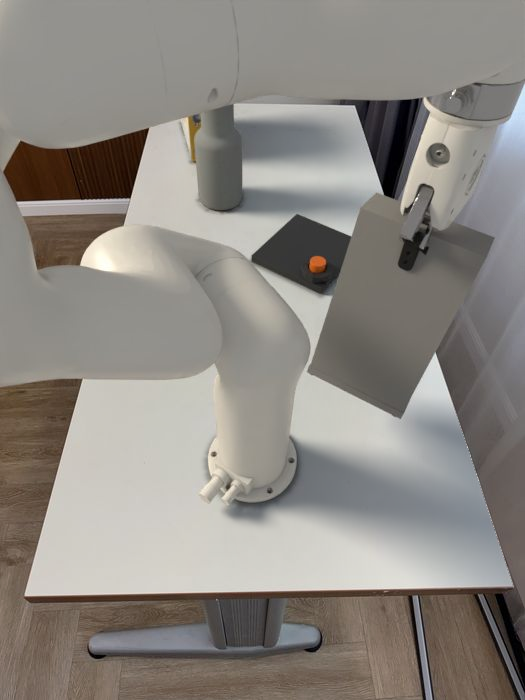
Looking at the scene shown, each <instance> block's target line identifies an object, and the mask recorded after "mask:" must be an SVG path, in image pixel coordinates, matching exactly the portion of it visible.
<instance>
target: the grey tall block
mask: <svg viewBox="0 0 525 700" xmlns="http://www.w3.org/2000/svg"><path fill="white" fill-rule="evenodd" d="M401 202H402V201H400V200H398V199H396V198H392V197H389V196H387V195H384V194H382V193H379V192H375V193H374V194H373V195H372V196H371V197H370V198H369V199H368V200H367V201H366V202H365V203H364V204H363V205H362V206H361V207H360V208H359V211H358V215H357V218H356V221H355V224H354V227H353V231H352V234H351V235H350V236H351V240H350V243H349V246H348V249H347V252H346V255H345V258H344V262H343V265H342V268H341V271H340V274H339V275H338V276H337V277H338V278H337V281H336V284H335V287H334V290H333V293H332V297H331V299H330V302H329V306H328V308H327V312H326V315H325V318H324V320H323V321H324V322H323V324H322V328H321V331H320V334H319V336H318V341H317V343H316V346H315V349H314V353H313V355H312V359H311V362H310V364H309V365H308V368H307V370H306V373H308V374H309V375H310V376H314V377H316V378H317V379H320V380H321V381H323V382H326V383H327V384H330V385H332V386H333V387H335V388H337V389H340V390H341V391H344V392H345V393H347V394H349V395H352V396H354V397H356V398H358V399H360V400H361V401H363V402H365V403H367V404H370V405H372V406H373V407H376V408H378V409H379V410H382V411H383V412H385V413H387V414H388V415H389V414H390V415H391V416H392V417H393V418H397V419H399V420H401V419H402V418H403V416H404V414H405V412H406V410H407V408H408V406H409V404H410V401H411V399H412V396H413V395H414V393H415V391H416V389H417V387H418V385H419V383H420V382H421V380H422V378H423V376H424V374H425V372H426V370H427V369H428V367H429V365H430V363H431V361H432V359H433V358H434V355H435V354H436V352H437V350H438V348H439V346H440V345H441V342H442V341H443V339H444V337H445V335H446V334H447V331H449V328H450V326H451V324H452V323H453V321H454V319H455V317H456V315H457V314H458V311H459V309H460V308H461V306H462V304H463V302H464V300H465V298H466V296H467V295H468V293H469V291H470V289H471V287H472V285H473V283H474V282H475V280H476V278H477V276H478V275H479V273H480V270H481V269H482V267H483V265H484V263H485V261H486V259H487V257H488V256H489V253H490V250H491V248H492V245H493V243H494V241H495V239H496V237H495V236H492V235H490V234H487V233H485V232H481V231H479V230H476V229H474V228H471V227H469V226H465V225H463V224H460V223H458V222H455V221H453V222H452V223H451V225H450V226H449V227H448V228H446V229H444V230H441V231H440V230H438V229H437V228H434V230H433V232H432V235H431V237H430V240H429V242H428V244H427V246H426V247H429V249H428V251H427V254H426V255H425V254H423V253H422V252H421V251H420V250H419V253H418V255H417V258H416V260H415V263H414V266H413V268H412V269H411V270H410V271H406V270H403V269H401V268H400V267H399V266H398V261H399V257H400V254H401V251H402V248H403V245H404V242H402V241H400V240H399V237H400V232H401V230H402V228H403V226H404V223H405V221H406V218H407V216H408V214H407V215H406V216H402V214H401V211H400V207H401ZM425 215H428V216H430V213H429V212H426V214H425ZM426 228H427V225H425V224H422V223H421V225H420V227H419V231H420V232H422V233H423V236H424V233H425V231H426Z"/></svg>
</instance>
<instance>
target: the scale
mask: <svg viewBox="0 0 525 700" xmlns="http://www.w3.org/2000/svg"><path fill="white" fill-rule="evenodd" d="M351 236H352V235H348V234H347V233H345V232H342V231H339V230H337V229H335V228H332V227H330V226H327V225H325V224H323V223H320V222H318V221H315V220H313V219H311V218H308V217H306V216H304V215H301V214H298V213H296V214H295V215H294V216H293V217H292V218H290V219H289V220H288V221H287V222H286V223H285V224H284V225H283V226H282V227H280V229H279V230H277V231H276V232H275V233H274V234H273V235H272V236H271V237H270V238H269V239H268V240H267V241H266V242H264V244H262V245H261V246H260V247H259V248H258V249H257V250H256V251H255V252H254V253H253V254H251V263H254V264H256V265H257V266H260V267H262V268H264V269H266V270H269V271H271V272H273V273H274V274H277V275H279V276H281V277H284V278H285V279H287V280H290V281H292V282H295V284H296V283H297V284H298V285H300V286H303V287H304V288H307V289H309V290H310V291H314V292H315V293H317V294H318V295H322V294H323V293H324V292H326V290H327V289H328V287H329V286H330V285H332V283H333V282H334V281H335V279H336V278H337V277H339V274H340V271H341V268H342V265H343V262H344V258H345V255H346V252H347V249H348V246H349V243H350V240H351ZM314 256H321V257H323V258H324V259H325V260H326V267H325V271H324V272H322V273H314V272H312V271H310V269H309V265H310V259H311V258H312V257H314Z"/></svg>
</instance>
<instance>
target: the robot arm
mask: <svg viewBox="0 0 525 700" xmlns="http://www.w3.org/2000/svg"><path fill="white" fill-rule="evenodd" d="M524 86H525V0H0V388H5V387H13V386H19V385H24V384H30V383H37V382H45V381H54V380H55V381H56V380H70V379H71V380H75V379H77V380H101V381H102V380H107V381H108V380H110V381H111V380H112V381H114V380H116V381H117V380H120V381H129V380H130V381H168V380H172V381H173V380H181V379H182V380H183V379H187V378H191V377H195V376H198V375H200V374H202V373H204V372H205V371H207V370H209V368H211V367H212V366H213V365H214V367H215V368H216V371H217V373H218V374H217V375H216V377H215V379H214V382H213V387H212V399H213V408H214V418H215V419H214V420H215V431H216V436H215V437H214V439H213V441H212V442H211V444H210V446H209V450H208V455H207V463H208V464H207V465H208V466H207V467H208V470H209V475H210V476H211V479H210V480H209V482H208V483H206V484H205V486H204V487H203V488H202V489H201V490H200V491H199V493H198V497H199V498H200V499H201V501H203V502H204V503H206V504H209V505H210V504H211V503H212V501H214V499H215V497H216V496H217V495H218V494H219V491H221V492H222V493H223V496H221V498H220V501H221V502H222V503H223V504H224V505H226V506H228V507H229V506H231V504H232V503H233V502H234V500H235V501H236V500H237V501H239V502H243V503H260V502H266V501H269V500H271V499H273V498H276V497H277V496H279V495H280V494H282V493H283V492H284V491H285V490H286V489H287V488H288V487H289V485H290V484H291V483H292V481H293V478H294V476H295V475H296V469H297V463H298V457H297V451H296V448H295V445H294V443H293V441H292V438H291V437H290V434H291V427H292V420H293V411H294V402H295V395H296V390H297V386H298V383H299V380H300V378H301V377H302V374H303V372H304V370H305V368H306V366H307V364H308V361H309V359H310V355H311V347H312V346H311V340H310V337H309V334H308V332H307V330H306V328H305V326H304V323H303V322H302V321H301V319H300V318H299V317H298V315H297V314H296V313H295V311H294V309H292V307H291V306H290V305H289V304H288V302H287V301H286V300H285V299H284V298H283V297H282V295H281V294H280V293H279V292H278V291H277V289H276V288H274V286H272V285H271V283H270V282H269V281H268V280H267V279H266V278H265V277H264V275H262V273H261V272H260V271H259V270H258V268H257V267H256V266H255V265H254V264H253V262H252V261H250V259H248V257H247V256H246V255H244V254H243V253H242V252H241V251H239V250H237V249H235V248H233V247H231V246H229V245H226V244H224V243H220V242H217V241H213V240H209V239H207V238H206V239H205V238H202V237H197V236H196V235H195V236H194V235H191V234H187V233H184V232H179V231H176V230H172V229H168V228H165V227H159V226H156V225H150V224H128V225H121V226H118V227H114V228H112V229H110V230H107V231H105V232H104V233H102V234H101V235H99V236H98V237H96V238H95V239H94V240H93V241H92V242H91V243H90V244H89V246H87V248H86V249H85V251H84V252H83V255H82V257H81V260H80V263H79V265H77V264H60V265H53V266H47V267H44V268H40V269H38V268H37V267H38V266H37V263H36V258H35V253H34V248H33V247H34V246H33V242H32V238H31V235H30V231H29V228H28V225H27V223H26V221H25V219H24V215H23V214H22V211H21V210H20V207H19V204H18V202H17V199H16V197H15V194H14V192H13V190H12V188H11V185H10V184H9V181H8V179H7V177H6V175H5V173H4V171H5V169H6V167H7V165H8V164H9V162H10V160H11V158H12V156H13V154H14V153H15V151H16V149H17V147H18V146H19V144H20V142H24V143H25V144H28V145H31V146H34V147H38V148H42V149H46V150H47V149H49V150H51V149H52V150H59V149H60V150H63V149H73V148H74V149H75V148H81V147H85V146H88V145H92V144H96V143H100V142H103V141H107V140H112V139H114V138H118V137H121V136H125V135H128V134H132V133H136V132H139V131H142V130H146V129H149V128H153V127H157V126H160V125H163V124H164V125H165V124H167V123H171V122H174V121H178V120H181V119H182V118H185V117H189V116H192V115H196V114H200V113H203V112H207V111H210V110H214V109H217V108H221V107H225V106H228V105H232V104H234V105H235V104H239V103H242V102H246V101H249V100H253V99H257V98H262V97H268V96H269V97H270V96H281V97H287V98H295V99H296V98H298V99H307V100H351V101H352V100H353V101H403V100H413V99H414V100H415V99H421V98H422V99H423V105H424V107H425V109H427V110H428V111H429V114H428V117H427V120H426V123H425V126H424V129H423V131H422V134H421V135H420V140H419V143H418V146H417V149H416V152H415V155H414V158H413V160H412V163H411V167H410V170H409V173H408V177H407V180H406V183H405V186H404V190H403V194H402V197H401V198H402V199H401V201H400V202H401V207H400V211H401V214H402V216H406V215H407V214H408V216H407V218H406V221H405V223H404V226H403V228H402V230H401V232H400V237H399V240H400V241H402V242H404V245H403V248H402V251H401V254H400V257H399V261H398V266H399V267H400V268H401V269H403V270H406V271H410V270H411V269H412V268H413V266H414V263H415V260H416V258H417V255H418V253H419V250H420V251H421V252H422V253H423V254H425V255H426V254H427V251H428V249H429V247H426V246H427V244H428V242H429V240H430V237H431V235H432V232H433V230H434V228H437V229H438V230H440V231H441V230H444V229H446V228H448V227H449V226H450V225H451V223H452V222H455V220H456V219H457V217H458V216H459V215H460V213H461V211H463V209H464V207H465V206H466V204H467V203H469V201H470V199H471V198H472V196H473V194H474V193H475V191H476V189H477V186H478V183H479V180H480V178H481V176H482V172H483V170H484V167H485V164H486V161H487V158H488V157H489V153H490V150H491V148H492V145H493V142H494V139H495V136H496V134H497V130H498V128H499V126H500V125H502V124H503V125H504V124H506V123H507V122H508V121H510V119H511V118H512V115H513V113H514V110H515V108H516V106H517V103H518V101H519V98H520V96H521V94H522V91H523V89H524ZM426 212H429V213H430V216H428V215H425V214H426ZM421 223H422V224H425V225H427V228H426V231H425V233H424V236H423V233H422V232H420V231H419V227H420V225H421Z"/></svg>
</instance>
